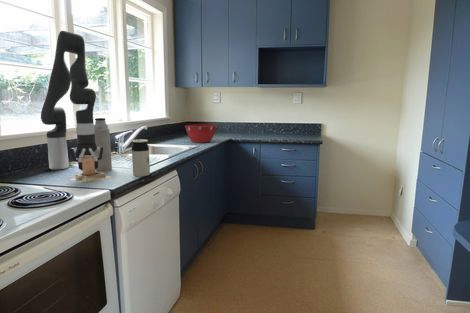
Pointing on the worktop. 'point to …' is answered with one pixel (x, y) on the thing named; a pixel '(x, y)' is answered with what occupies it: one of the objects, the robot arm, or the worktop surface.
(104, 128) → the thermos bottle
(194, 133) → the mixing bowl
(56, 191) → the mat
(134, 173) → the travel mug
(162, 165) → the worktop surface
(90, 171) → the tabbed peach cylinder
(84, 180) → the dock
